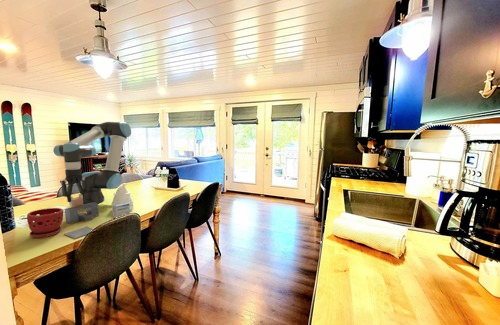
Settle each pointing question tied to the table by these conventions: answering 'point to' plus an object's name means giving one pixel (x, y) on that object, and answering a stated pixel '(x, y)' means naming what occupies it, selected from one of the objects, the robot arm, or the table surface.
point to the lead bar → (84, 216)
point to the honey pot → (122, 197)
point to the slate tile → (79, 232)
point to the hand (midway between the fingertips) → (76, 205)
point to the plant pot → (45, 222)
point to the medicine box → (121, 209)
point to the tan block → (77, 201)
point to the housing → (72, 212)
